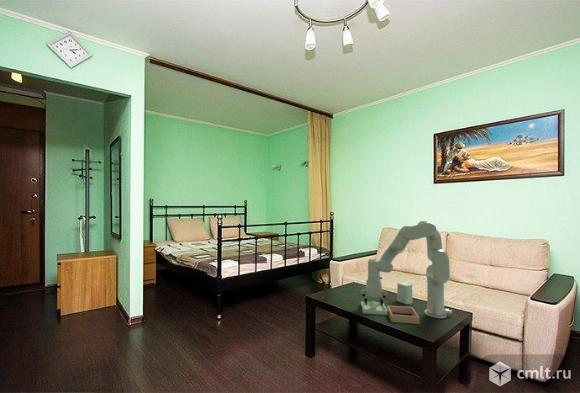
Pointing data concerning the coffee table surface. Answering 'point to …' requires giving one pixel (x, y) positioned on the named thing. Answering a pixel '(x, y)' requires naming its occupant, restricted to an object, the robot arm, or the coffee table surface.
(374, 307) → the ball
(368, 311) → the tray
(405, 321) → the tan square frame
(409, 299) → the small box
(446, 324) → the coffee table surface
